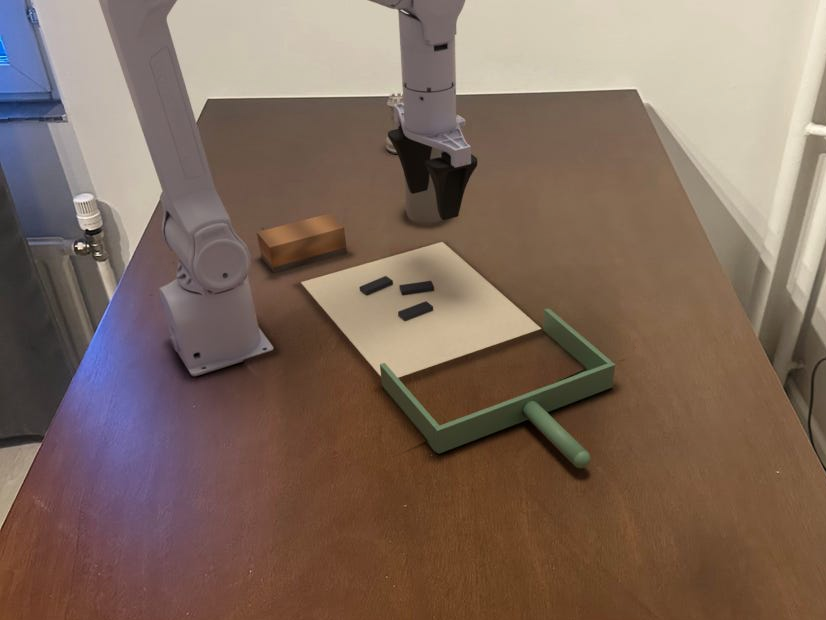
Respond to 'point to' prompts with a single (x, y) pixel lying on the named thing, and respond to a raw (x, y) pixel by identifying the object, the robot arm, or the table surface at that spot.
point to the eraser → (302, 242)
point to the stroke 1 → (376, 285)
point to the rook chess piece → (393, 125)
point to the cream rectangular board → (426, 334)
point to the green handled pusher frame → (518, 400)
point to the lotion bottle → (423, 200)
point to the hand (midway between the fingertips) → (433, 203)
